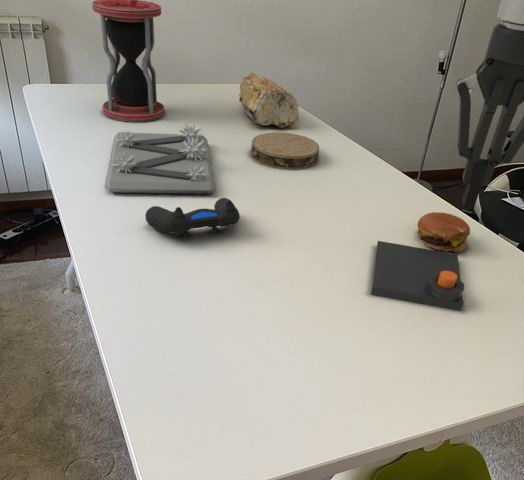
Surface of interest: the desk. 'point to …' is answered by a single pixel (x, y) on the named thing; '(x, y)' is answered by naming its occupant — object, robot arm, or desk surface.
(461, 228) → the burger
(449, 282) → the button
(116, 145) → the decorative plate
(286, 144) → the wood log slice
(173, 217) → the gaming controller
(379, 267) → the scale
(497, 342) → the desk surface
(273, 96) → the petrified wood
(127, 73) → the hourglass
